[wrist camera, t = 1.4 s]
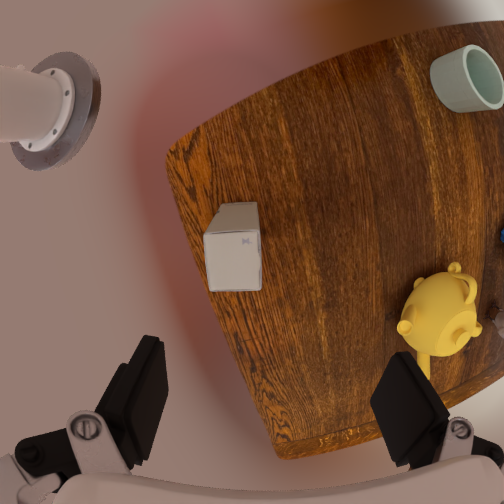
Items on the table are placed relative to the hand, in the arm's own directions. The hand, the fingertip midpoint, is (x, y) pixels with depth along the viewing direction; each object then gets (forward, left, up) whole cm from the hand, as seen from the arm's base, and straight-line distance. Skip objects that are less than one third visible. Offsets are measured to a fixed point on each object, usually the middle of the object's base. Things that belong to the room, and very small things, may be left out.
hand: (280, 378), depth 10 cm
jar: (0, +36, -25) cm, 43 cm away
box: (-2, -2, -25) cm, 25 cm away
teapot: (+25, +12, -25) cm, 37 cm away
